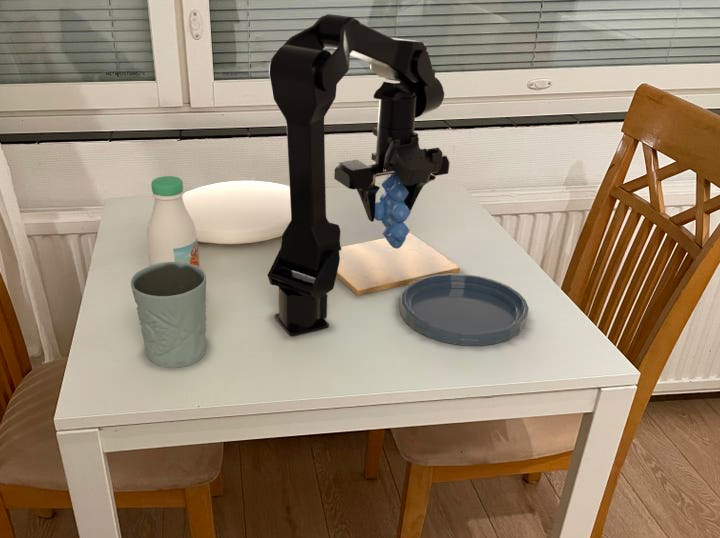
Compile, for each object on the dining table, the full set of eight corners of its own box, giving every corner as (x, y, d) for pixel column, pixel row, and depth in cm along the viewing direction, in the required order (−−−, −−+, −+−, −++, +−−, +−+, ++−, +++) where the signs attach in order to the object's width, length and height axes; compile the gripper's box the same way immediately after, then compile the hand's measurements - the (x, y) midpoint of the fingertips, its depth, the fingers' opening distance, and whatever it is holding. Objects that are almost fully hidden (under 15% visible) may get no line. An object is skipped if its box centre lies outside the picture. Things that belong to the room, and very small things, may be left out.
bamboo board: (357, 296, 123) (357, 290, 122) (314, 257, 135) (314, 252, 134) (459, 272, 129) (460, 267, 129) (409, 237, 142) (410, 232, 141)
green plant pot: (213, 333, 113) (208, 261, 106) (209, 371, 104) (203, 295, 98) (145, 334, 113) (136, 262, 106) (135, 372, 104) (125, 296, 98)
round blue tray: (445, 358, 107) (447, 345, 106) (377, 299, 122) (378, 287, 120) (552, 329, 114) (555, 316, 112) (475, 276, 128) (477, 264, 127)
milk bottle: (161, 315, 117) (148, 193, 106) (148, 294, 123) (134, 175, 112) (208, 305, 120) (200, 185, 109) (193, 285, 126) (184, 168, 115)
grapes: (361, 230, 134) (364, 164, 128) (398, 228, 135) (403, 162, 128) (374, 258, 124) (378, 188, 118) (414, 256, 125) (420, 186, 119)
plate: (147, 226, 134) (180, 176, 156) (155, 259, 138) (185, 205, 160) (303, 216, 130) (314, 166, 153) (306, 251, 134) (316, 197, 156)
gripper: (369, 146, 109) (363, 245, 118) (475, 130, 116) (462, 225, 124) (334, 126, 118) (331, 220, 126) (434, 113, 124) (425, 203, 133)
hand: (388, 217), depth 127 cm, fingers closed on grapes, 6 cm apart
